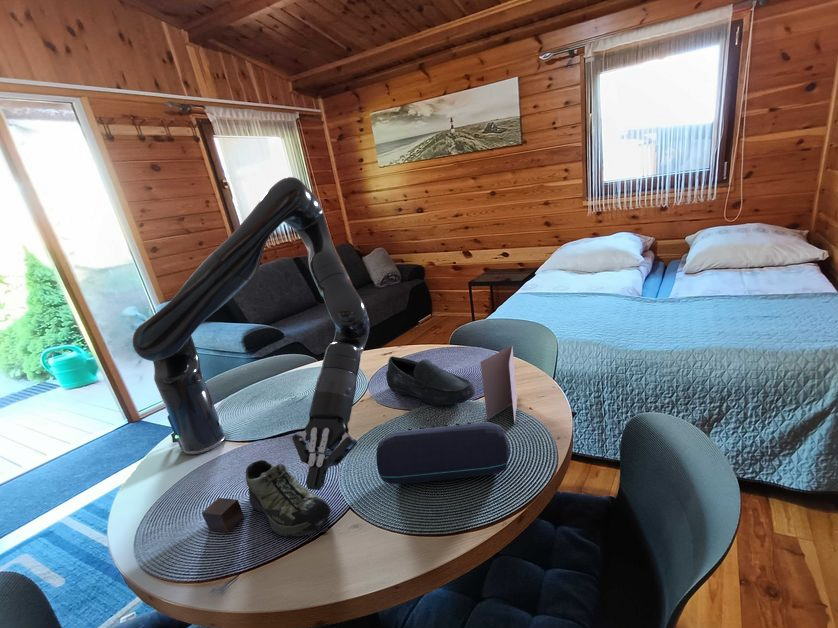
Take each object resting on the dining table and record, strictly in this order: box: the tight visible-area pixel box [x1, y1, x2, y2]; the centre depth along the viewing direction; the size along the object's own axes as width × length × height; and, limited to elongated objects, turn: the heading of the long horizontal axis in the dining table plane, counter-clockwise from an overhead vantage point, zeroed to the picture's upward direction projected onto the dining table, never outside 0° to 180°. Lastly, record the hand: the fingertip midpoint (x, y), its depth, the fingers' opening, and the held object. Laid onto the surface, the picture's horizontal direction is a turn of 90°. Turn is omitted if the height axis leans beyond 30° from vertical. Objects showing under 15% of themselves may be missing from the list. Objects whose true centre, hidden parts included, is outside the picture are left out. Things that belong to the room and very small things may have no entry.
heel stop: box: [201, 497, 245, 533], centre depth 78 cm, size 4×4×4 cm
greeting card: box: [479, 345, 518, 425], centre depth 101 cm, size 11×7×15 cm, turn 136°
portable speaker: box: [375, 421, 510, 485], centre depth 83 cm, size 25×10×10 cm, turn 90°
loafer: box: [385, 355, 476, 406], centre depth 116 cm, size 10×29×10 cm, turn 58°
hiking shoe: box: [245, 459, 332, 538], centre depth 78 cm, size 8×21×9 cm, turn 56°
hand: (313, 489), depth 77 cm, fingers closed
